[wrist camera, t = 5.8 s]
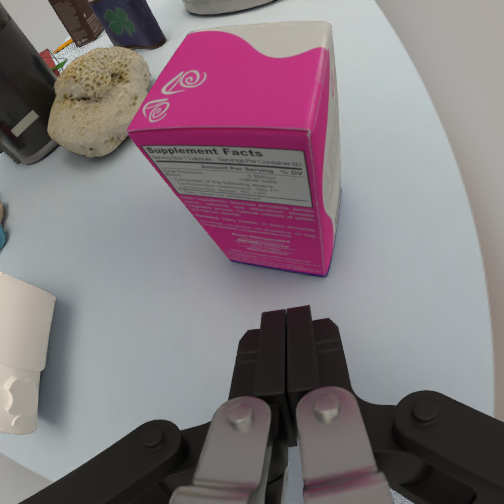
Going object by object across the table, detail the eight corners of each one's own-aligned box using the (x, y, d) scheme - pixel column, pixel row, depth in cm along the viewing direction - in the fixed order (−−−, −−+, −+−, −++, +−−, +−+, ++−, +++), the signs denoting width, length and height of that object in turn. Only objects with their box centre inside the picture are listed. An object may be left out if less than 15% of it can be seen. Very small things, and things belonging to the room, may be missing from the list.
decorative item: (54, 83, 27) (107, 15, 22) (113, 120, 33) (170, 62, 28) (11, 155, 21) (63, 66, 16) (90, 196, 27) (158, 129, 22)
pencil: (112, 12, 41) (113, 13, 41) (49, 53, 41) (51, 53, 42) (114, 15, 41) (115, 16, 42) (51, 56, 42) (52, 56, 42)
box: (98, 39, 38) (64, -15, 27) (77, 48, 39) (43, -2, 28) (111, 21, 40) (82, -29, 30) (91, 30, 41) (61, -17, 31)
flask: (112, 50, 34) (77, -7, 25) (126, 38, 35) (94, -19, 25) (157, 50, 31) (120, -22, 21) (173, 36, 32) (140, -34, 22)
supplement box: (250, 179, 21) (188, 26, 10) (342, 190, 19) (341, 19, 9) (225, 263, 19) (118, 128, 9) (327, 281, 17) (326, 131, 7)
